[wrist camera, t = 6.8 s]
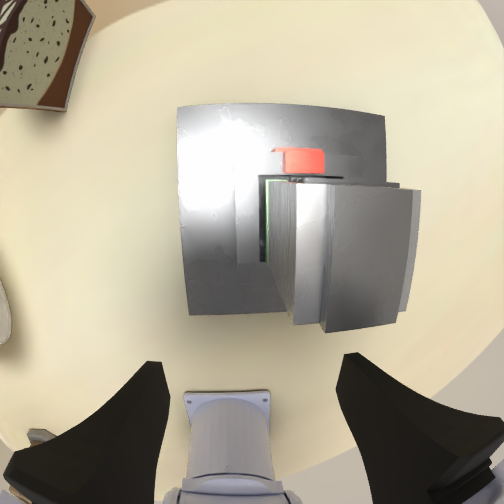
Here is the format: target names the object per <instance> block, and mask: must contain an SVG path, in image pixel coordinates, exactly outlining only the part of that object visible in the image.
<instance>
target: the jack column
mask: <svg viewBox="0 0 504 504" xmlns="http://www.w3.org/2000/svg"><path fill="white" fill-rule="evenodd" d="M399 185H400V183H391V182H379V181H365V180H348V179H326V178H287V180H265V261H266V263H267V264H268V265H269V267H270V270H271V272H272V274H273V277H274V279H275V282H276V284H277V287H278V289H279V292H280V294H281V297H282V299H283V302H284V304H285V307H286V309H287V311H288V314H289V316H290V319H291V321H292V324H293V325H302V324H313V323H319V324H320V325H321V327H322V329H323V331H324V332H325V333H332V332H339V331H347V330H354V329H361V328H368V327H374V326H380V325H386V324H391V323H396V319H397V315H398V312H403V311H406V307H407V302H408V298H409V293H410V287H411V282H412V276H413V270H414V263H415V256H416V248H417V240H418V230H419V218H420V203H421V190H414V189H406V188H399Z"/></svg>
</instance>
